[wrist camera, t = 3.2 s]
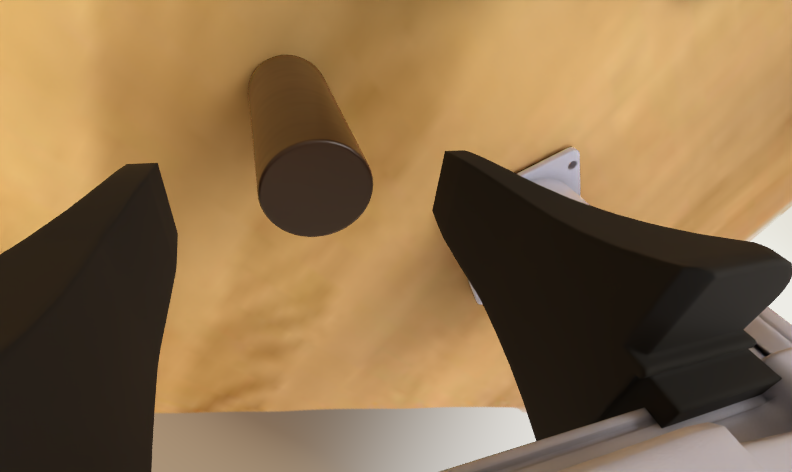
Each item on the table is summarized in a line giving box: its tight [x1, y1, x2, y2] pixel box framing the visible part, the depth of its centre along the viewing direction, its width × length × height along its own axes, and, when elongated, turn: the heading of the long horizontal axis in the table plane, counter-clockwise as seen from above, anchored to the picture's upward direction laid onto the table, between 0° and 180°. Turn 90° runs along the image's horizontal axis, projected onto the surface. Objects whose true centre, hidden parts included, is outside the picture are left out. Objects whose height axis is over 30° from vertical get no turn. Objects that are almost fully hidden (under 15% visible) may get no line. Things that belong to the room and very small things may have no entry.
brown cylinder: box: [248, 55, 373, 237], centre depth 13 cm, size 3×3×7 cm
